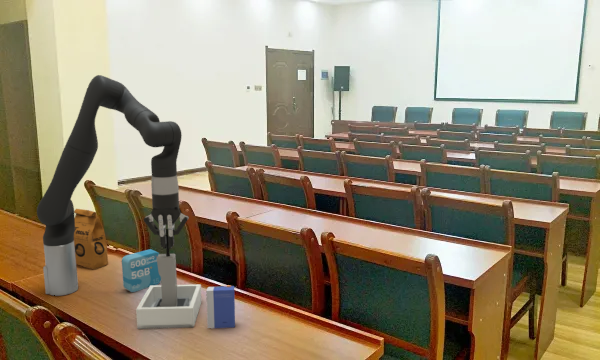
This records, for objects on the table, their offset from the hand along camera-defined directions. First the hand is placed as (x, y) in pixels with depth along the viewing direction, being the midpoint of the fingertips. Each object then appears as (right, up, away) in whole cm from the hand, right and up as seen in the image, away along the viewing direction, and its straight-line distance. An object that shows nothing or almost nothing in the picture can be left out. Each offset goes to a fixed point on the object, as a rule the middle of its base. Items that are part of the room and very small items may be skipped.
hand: (167, 247), depth 146 cm
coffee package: (-42, -13, +45) cm, 63 cm away
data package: (-15, -17, +25) cm, 34 cm away
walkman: (+16, -23, -3) cm, 28 cm away
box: (0, -21, +4) cm, 21 cm away
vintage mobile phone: (-1, -19, +4) cm, 19 cm away
